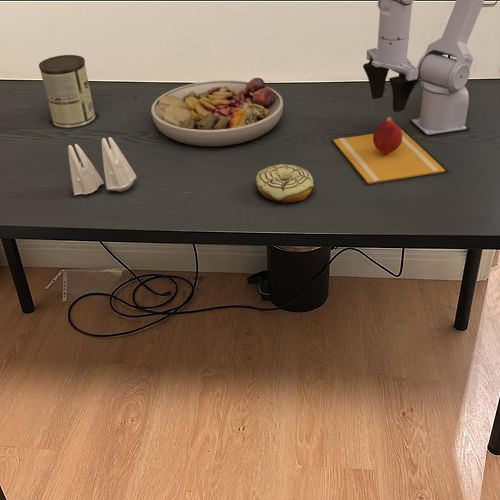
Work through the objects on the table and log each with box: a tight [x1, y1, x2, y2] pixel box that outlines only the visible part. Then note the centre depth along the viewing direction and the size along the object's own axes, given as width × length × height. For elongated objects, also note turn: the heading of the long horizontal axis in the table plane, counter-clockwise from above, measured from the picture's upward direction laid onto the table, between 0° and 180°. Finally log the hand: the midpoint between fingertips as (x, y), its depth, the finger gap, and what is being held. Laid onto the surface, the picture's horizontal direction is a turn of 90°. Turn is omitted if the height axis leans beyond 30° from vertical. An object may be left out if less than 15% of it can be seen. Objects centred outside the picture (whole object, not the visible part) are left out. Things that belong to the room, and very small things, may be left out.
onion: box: [373, 116, 402, 154], centre depth 128 cm, size 6×6×8 cm
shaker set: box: [67, 136, 137, 196], centre depth 120 cm, size 12×4×11 cm, turn 88°
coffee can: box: [38, 54, 96, 129], centre depth 149 cm, size 10×10×14 cm
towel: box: [332, 129, 446, 185], centre depth 130 cm, size 16×20×1 cm
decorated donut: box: [255, 163, 315, 204], centre depth 119 cm, size 10×11×4 cm
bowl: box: [150, 77, 284, 147], centre depth 145 cm, size 30×30×8 cm
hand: (387, 104), depth 127 cm, fingers open, 7 cm apart
